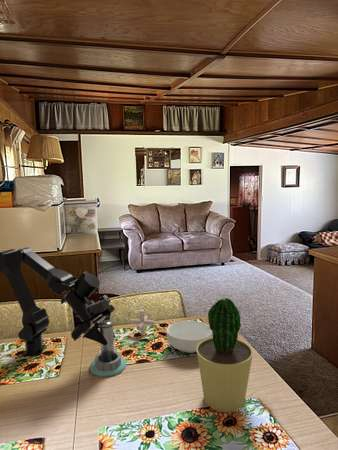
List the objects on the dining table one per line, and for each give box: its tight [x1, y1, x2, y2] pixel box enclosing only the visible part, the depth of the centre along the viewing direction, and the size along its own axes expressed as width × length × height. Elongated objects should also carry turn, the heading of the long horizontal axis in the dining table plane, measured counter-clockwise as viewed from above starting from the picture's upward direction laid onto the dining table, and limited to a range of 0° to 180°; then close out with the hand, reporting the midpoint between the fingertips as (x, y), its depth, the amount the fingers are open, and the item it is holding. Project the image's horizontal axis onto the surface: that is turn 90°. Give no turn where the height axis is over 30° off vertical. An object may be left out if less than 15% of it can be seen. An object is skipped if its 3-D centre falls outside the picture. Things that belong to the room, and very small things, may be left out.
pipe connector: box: [129, 309, 156, 336], centre depth 134 cm, size 10×10×10 cm
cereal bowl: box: [166, 320, 213, 354], centre depth 123 cm, size 17×17×7 cm
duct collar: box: [89, 350, 127, 378], centre depth 112 cm, size 12×12×3 cm
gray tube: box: [98, 319, 115, 363], centre depth 111 cm, size 5×5×13 cm
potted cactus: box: [196, 297, 254, 413], centre depth 92 cm, size 15×15×30 cm
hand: (110, 341), depth 110 cm, fingers closed on gray tube, 4 cm apart
